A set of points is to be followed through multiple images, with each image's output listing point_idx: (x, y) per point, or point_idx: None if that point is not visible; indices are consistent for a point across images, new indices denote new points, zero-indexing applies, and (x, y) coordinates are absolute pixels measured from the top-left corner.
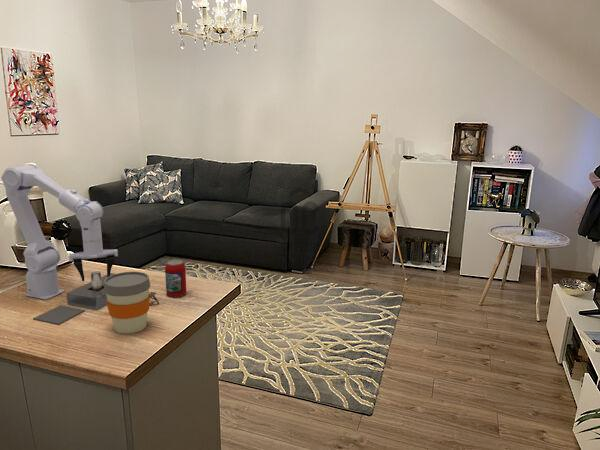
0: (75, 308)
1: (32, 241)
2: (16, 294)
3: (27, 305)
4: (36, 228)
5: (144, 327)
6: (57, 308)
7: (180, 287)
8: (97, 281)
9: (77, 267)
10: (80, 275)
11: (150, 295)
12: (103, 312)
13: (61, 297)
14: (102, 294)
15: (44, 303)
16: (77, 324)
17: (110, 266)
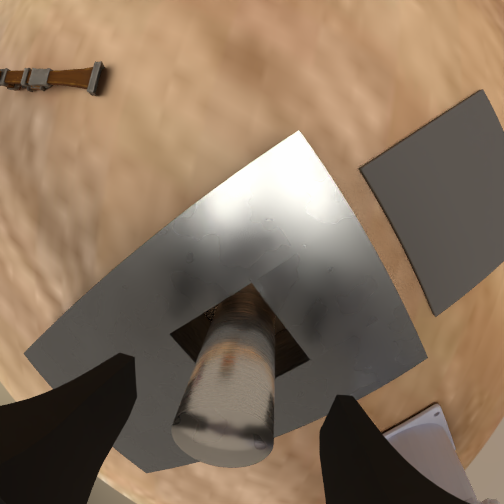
0: (396, 229)
1: None
2: None
3: (492, 377)
4: None
5: None
6: (456, 283)
7: None
8: (229, 354)
9: (444, 499)
10: (382, 434)
11: (8, 71)
12: (265, 89)
13: (386, 407)
14: (230, 194)
15: (455, 374)
16: (411, 35)
17: (32, 405)
